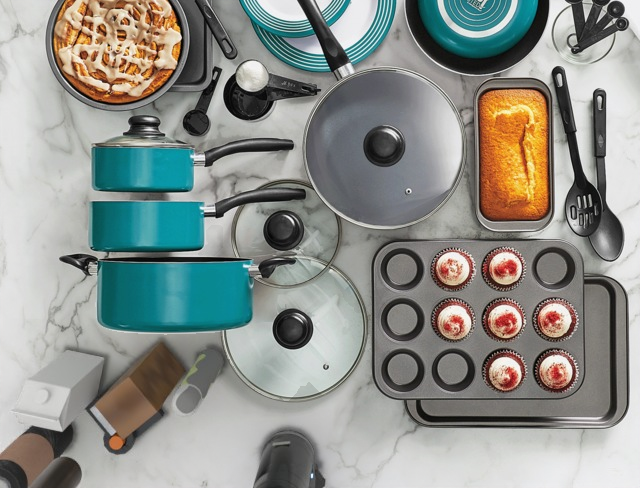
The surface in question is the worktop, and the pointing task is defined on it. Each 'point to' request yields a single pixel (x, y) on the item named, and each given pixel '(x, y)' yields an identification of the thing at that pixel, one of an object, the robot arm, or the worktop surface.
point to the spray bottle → (197, 383)
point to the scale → (129, 439)
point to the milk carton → (60, 391)
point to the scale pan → (102, 420)
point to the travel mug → (31, 455)
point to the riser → (141, 390)
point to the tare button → (116, 442)
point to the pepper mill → (59, 474)
